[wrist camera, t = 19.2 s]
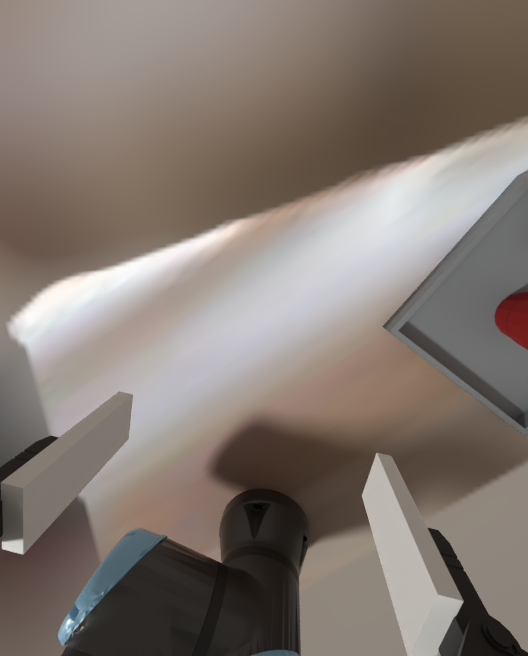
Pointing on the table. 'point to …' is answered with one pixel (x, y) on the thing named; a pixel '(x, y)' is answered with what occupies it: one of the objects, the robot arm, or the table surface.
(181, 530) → the table surface
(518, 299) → the plastic cup
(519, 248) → the grey tray
